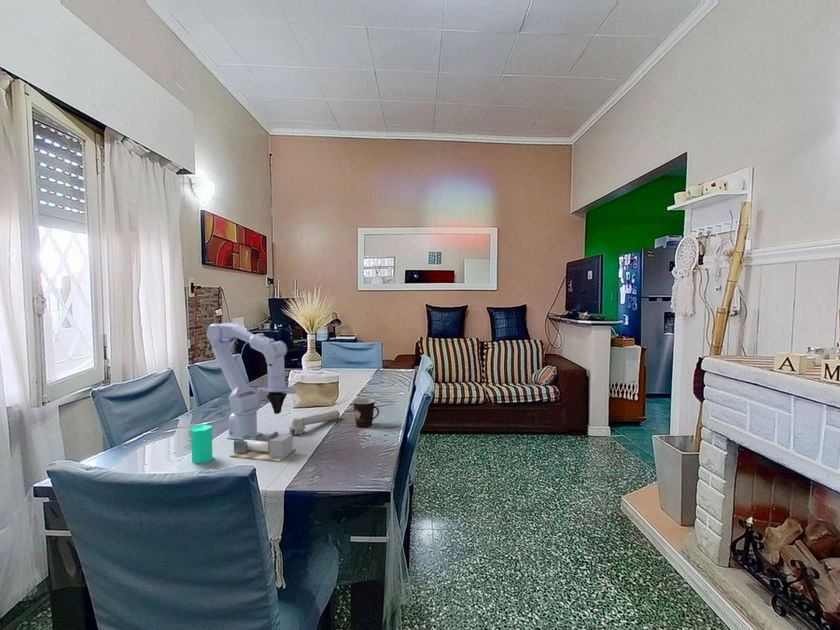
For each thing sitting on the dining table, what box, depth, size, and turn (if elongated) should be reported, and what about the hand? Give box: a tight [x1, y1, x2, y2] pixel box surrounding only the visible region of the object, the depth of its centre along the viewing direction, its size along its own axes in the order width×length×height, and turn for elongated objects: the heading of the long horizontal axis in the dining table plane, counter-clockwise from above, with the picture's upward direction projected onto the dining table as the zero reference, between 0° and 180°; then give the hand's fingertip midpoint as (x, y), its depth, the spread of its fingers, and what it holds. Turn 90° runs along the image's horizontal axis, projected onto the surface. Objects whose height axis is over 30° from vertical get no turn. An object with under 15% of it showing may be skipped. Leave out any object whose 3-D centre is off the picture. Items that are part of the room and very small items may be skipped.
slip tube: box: [244, 431, 279, 454], centre depth 135 cm, size 14×4×6 cm, turn 76°
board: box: [229, 448, 297, 463], centre depth 136 cm, size 18×10×1 cm, turn 76°
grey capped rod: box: [288, 409, 341, 436], centre depth 163 cm, size 5×7×25 cm
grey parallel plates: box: [233, 435, 258, 454], centre depth 137 cm, size 4×6×4 cm
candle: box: [190, 422, 214, 464], centre depth 130 cm, size 6×6×12 cm
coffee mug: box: [352, 397, 380, 429], centre depth 163 cm, size 12×9×10 cm
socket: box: [269, 433, 294, 458], centre depth 134 cm, size 4×6×6 cm
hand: (277, 413), depth 146 cm, fingers closed
